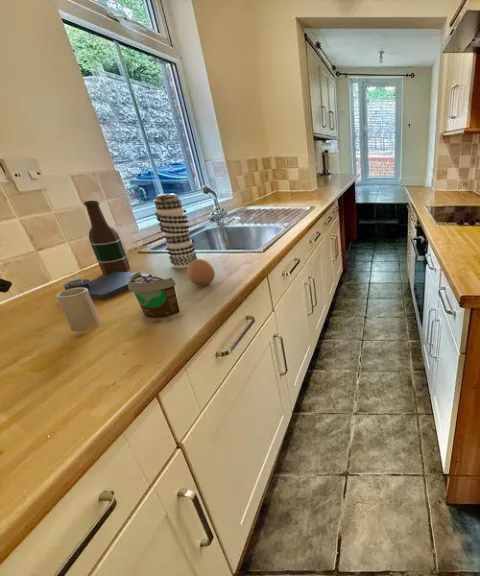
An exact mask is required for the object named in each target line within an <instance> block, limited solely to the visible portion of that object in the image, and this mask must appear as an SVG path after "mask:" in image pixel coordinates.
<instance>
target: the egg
mask: <svg viewBox="0 0 480 576" xmlns="http://www.w3.org/2000/svg"><path fill="white" fill-rule="evenodd" d="M186 274H187V278H188V281H189V282H190V283H191V284H193V285H195V286H197V287H206V286H209V285H210V284H212V282H213V281H214V279H215V277H216V274H215V269H214V267H213V266H212V265H211V263H210V262H209V261H207V260H205V259H201V258H197V260H194V261H192V262H191V263H190V265H189V267H187V270H186Z"/></svg>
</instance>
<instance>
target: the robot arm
mask: <svg viewBox="0 0 480 576" xmlns="http://www.w3.org/2000/svg"><path fill="white" fill-rule="evenodd" d="M12 286H13V283H12V281H9V280H6V279H3V278H0V293H4V294H5V293H8V292H9V291H10V288H11V287H12Z"/></svg>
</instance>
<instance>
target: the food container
mask: <svg viewBox="0 0 480 576" xmlns="http://www.w3.org/2000/svg"><path fill="white" fill-rule="evenodd" d="M135 273H136V274H134V275H132V276H131V277H130V278H129V279H128V280H129V281H128V288H129V290H128V291H131V292H133V294H134V297H135V298H136V300H137V302H138V304H139V306H140V308H141V311H142V313H143V315H144V317H145V318H147V319H162V318H167V317H171V316H174V315H177V314H179V313H180V312H181V310H180V306H179V302H178V297H177V293H176V288H175V286H176V285H177V284H176V282H175V279H174V278H173V276H172V277H169V278H165V279H164V278H161V277H159V276H152V277H147V276H141V272H135Z"/></svg>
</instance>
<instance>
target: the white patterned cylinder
mask: <svg viewBox="0 0 480 576" xmlns="http://www.w3.org/2000/svg"><path fill="white" fill-rule="evenodd" d="M154 198H155V199H153V200H152V201H154V206H155V213H154V216H156V220H157V222H159V223H158V226H159V227H160V231H161V232H162V236H164V239H165V244H166V250H167V251H168V252H167V254H168V255H169V257H168V259H169V260H170V264H171V267H172V268H175V269H183V268H188V267H189V265H190V263H191V262H192V261H194V260H197V259H198V257H197V253H196V252H195V251H196V249H195V247H194V246H195V244H194V243H193V241H192V238H191V235H190V232H191V230H190V229H189V228H190V225H187V223H189V220H188V219H187V218H188V215H186V214H185V213H187V210H186V209H184V206H183V205H182V201H181V199H182V197H179V196H178V195H177V194H176V193H160V194H157V195H156V196H155V197H154Z"/></svg>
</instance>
